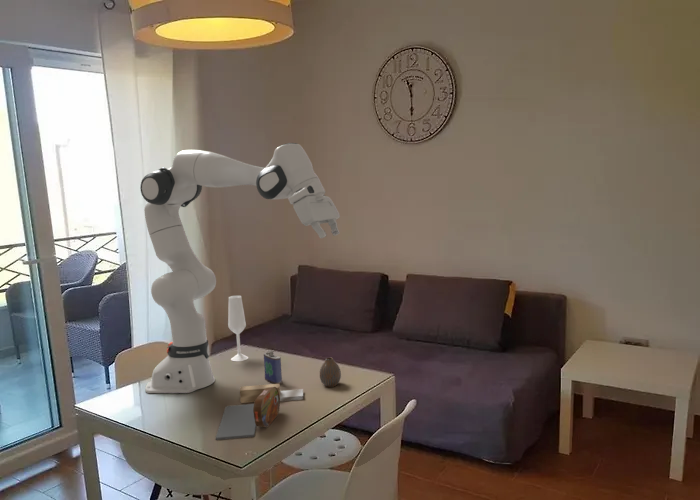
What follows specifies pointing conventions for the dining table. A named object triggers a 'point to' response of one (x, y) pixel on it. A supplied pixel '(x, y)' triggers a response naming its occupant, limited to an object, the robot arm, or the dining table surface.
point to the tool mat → (237, 422)
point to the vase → (330, 373)
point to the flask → (272, 368)
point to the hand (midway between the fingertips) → (330, 236)
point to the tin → (266, 407)
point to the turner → (254, 391)
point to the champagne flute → (236, 322)
